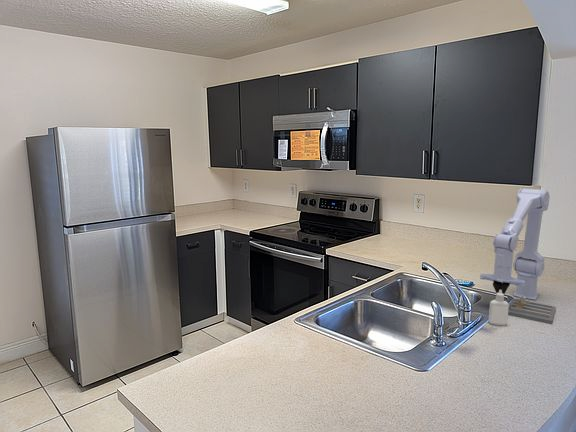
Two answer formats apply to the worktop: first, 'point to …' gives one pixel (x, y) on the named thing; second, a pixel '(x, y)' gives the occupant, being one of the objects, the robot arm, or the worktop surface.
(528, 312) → the switch board
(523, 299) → the grooved grey cube
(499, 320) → the eye dropper bottle
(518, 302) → the oak tab
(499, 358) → the worktop surface
